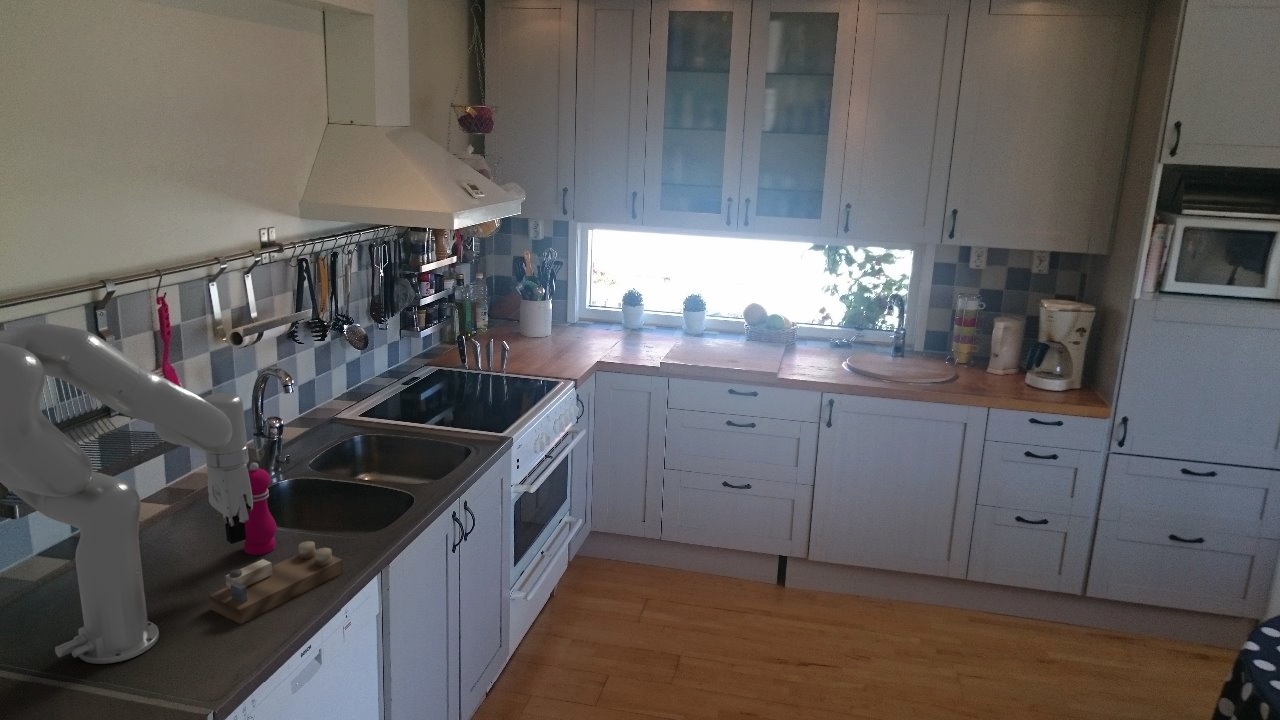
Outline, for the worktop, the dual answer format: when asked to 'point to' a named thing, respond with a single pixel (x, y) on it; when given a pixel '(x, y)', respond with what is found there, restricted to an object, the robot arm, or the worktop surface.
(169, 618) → the worktop surface
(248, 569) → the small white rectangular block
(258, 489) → the pepper mill
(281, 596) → the rectangular wooden board
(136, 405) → the robot arm
